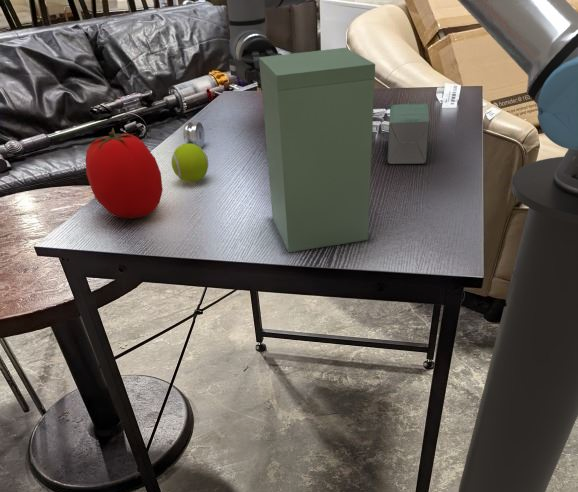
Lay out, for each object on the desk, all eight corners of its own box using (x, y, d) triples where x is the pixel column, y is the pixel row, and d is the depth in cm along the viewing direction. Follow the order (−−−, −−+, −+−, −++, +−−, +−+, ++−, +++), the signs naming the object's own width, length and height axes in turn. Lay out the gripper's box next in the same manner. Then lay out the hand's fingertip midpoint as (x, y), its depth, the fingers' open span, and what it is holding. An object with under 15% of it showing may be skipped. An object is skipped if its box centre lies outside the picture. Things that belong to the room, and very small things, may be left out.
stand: (368, 240, 77) (375, 63, 62) (288, 252, 76) (276, 75, 61) (344, 208, 86) (345, 47, 71) (272, 219, 84) (258, 57, 70)
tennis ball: (171, 179, 101) (163, 143, 96) (204, 172, 103) (198, 136, 98) (181, 190, 96) (174, 152, 92) (216, 182, 98) (210, 145, 94)
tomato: (152, 232, 84) (130, 145, 75) (85, 227, 87) (57, 143, 78) (182, 202, 92) (166, 121, 83) (120, 199, 95) (98, 120, 86)
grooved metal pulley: (197, 151, 113) (193, 126, 109) (185, 150, 113) (180, 126, 110) (206, 143, 116) (202, 119, 113) (193, 143, 117) (189, 119, 114)
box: (424, 141, 108) (428, 101, 104) (426, 164, 99) (430, 121, 94) (388, 141, 110) (390, 102, 105) (386, 165, 100) (389, 122, 95)
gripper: (294, 74, 108) (324, 101, 91) (222, 82, 106) (238, 112, 89) (292, 30, 103) (324, 51, 86) (216, 38, 101) (233, 61, 84)
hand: (280, 82), depth 87 cm, fingers closed on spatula, 2 cm apart
